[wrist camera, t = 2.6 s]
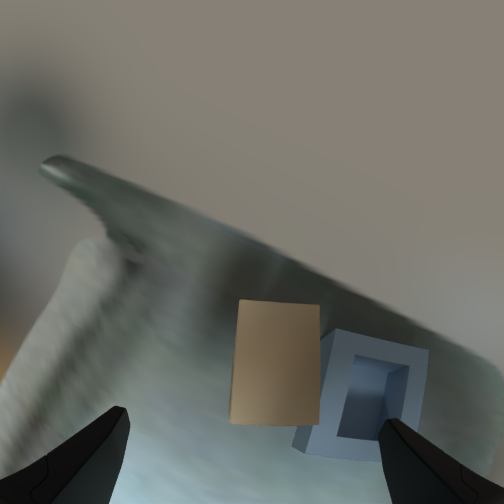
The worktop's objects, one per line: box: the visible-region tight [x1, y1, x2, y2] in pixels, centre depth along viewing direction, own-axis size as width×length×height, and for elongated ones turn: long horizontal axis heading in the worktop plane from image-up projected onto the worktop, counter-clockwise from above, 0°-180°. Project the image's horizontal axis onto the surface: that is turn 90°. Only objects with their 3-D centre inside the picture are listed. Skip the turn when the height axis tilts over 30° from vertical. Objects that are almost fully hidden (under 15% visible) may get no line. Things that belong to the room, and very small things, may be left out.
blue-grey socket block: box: [292, 328, 429, 462], centre depth 16 cm, size 8×7×4 cm
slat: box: [229, 300, 320, 426], centre depth 12 cm, size 3×2×13 cm, turn 177°
